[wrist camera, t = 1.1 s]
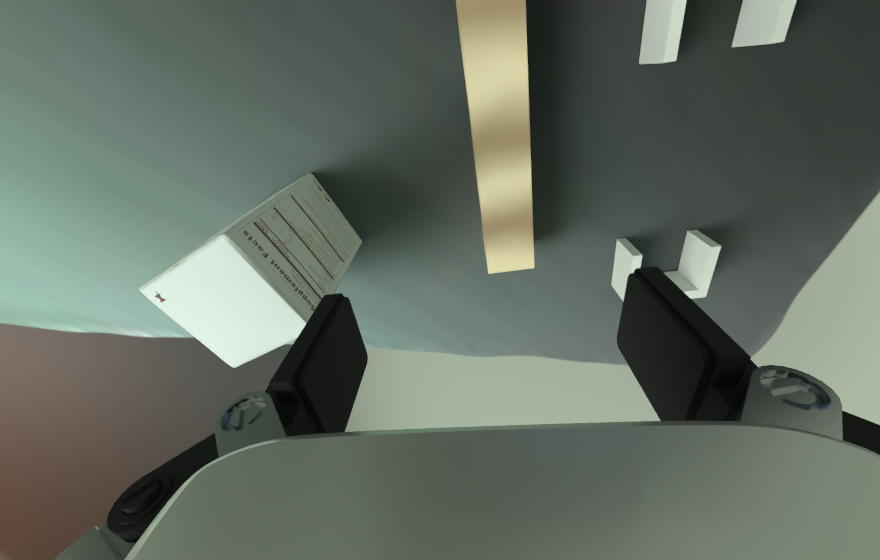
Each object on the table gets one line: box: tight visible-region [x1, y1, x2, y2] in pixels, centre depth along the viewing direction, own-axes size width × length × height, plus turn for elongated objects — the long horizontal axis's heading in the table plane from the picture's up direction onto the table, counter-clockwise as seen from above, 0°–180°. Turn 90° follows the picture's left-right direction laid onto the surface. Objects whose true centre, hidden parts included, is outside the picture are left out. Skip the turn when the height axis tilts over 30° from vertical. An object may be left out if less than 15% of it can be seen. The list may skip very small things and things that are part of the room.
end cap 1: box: [639, 0, 797, 64], centre depth 19 cm, size 5×6×3 cm
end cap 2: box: [611, 230, 721, 301], centre depth 29 cm, size 5×6×3 cm
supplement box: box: [139, 173, 362, 368], centre depth 25 cm, size 7×7×13 cm
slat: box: [456, 0, 534, 274], centre depth 23 cm, size 20×4×4 cm, turn 10°
